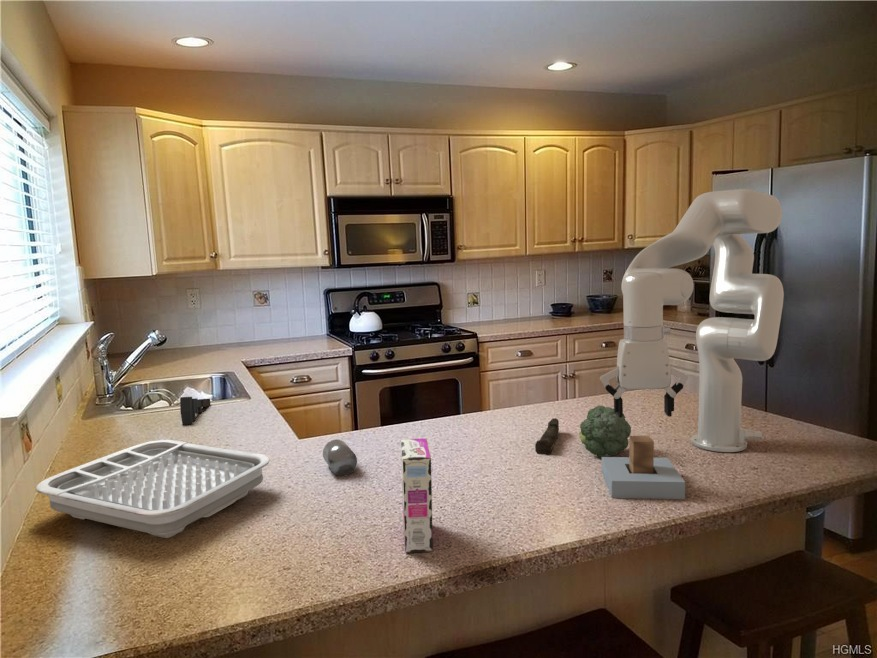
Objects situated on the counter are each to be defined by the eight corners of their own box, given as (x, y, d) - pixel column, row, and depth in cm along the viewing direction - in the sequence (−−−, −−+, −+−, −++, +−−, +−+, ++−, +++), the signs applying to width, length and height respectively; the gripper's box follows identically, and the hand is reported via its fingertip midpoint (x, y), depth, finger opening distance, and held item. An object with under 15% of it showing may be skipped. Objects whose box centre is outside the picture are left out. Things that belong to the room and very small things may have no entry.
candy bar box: (435, 552, 102) (431, 457, 100) (405, 554, 102) (401, 459, 100) (430, 522, 113) (427, 436, 111) (403, 524, 113) (399, 438, 111)
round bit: (345, 436, 146) (353, 445, 138) (351, 460, 147) (359, 470, 139) (320, 444, 143) (327, 454, 136) (326, 468, 145) (333, 479, 137)
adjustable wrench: (211, 419, 207) (190, 425, 182) (203, 420, 207) (180, 425, 182) (211, 394, 207) (189, 396, 183) (203, 395, 207) (180, 397, 182)
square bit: (648, 481, 129) (649, 435, 128) (653, 488, 125) (653, 441, 124) (629, 481, 130) (629, 435, 129) (633, 488, 126) (633, 441, 125)
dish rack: (165, 558, 103) (160, 513, 102) (26, 524, 118) (21, 484, 117) (283, 489, 132) (281, 453, 131) (159, 469, 147) (156, 436, 146)
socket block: (667, 473, 134) (667, 457, 133) (684, 499, 120) (685, 482, 119) (601, 472, 135) (601, 456, 135) (611, 497, 122) (611, 480, 121)
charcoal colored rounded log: (551, 456, 147) (551, 438, 146) (534, 455, 149) (534, 436, 148) (566, 434, 164) (566, 417, 164) (551, 432, 166) (551, 416, 165)
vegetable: (614, 430, 158) (648, 418, 145) (596, 473, 152) (630, 465, 139) (575, 405, 157) (606, 390, 144) (556, 447, 152) (586, 436, 138)
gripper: (682, 328, 126) (682, 409, 129) (596, 332, 128) (598, 410, 131) (693, 335, 119) (692, 420, 121) (601, 338, 121) (603, 421, 124)
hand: (643, 415), depth 126 cm, fingers open, 9 cm apart
